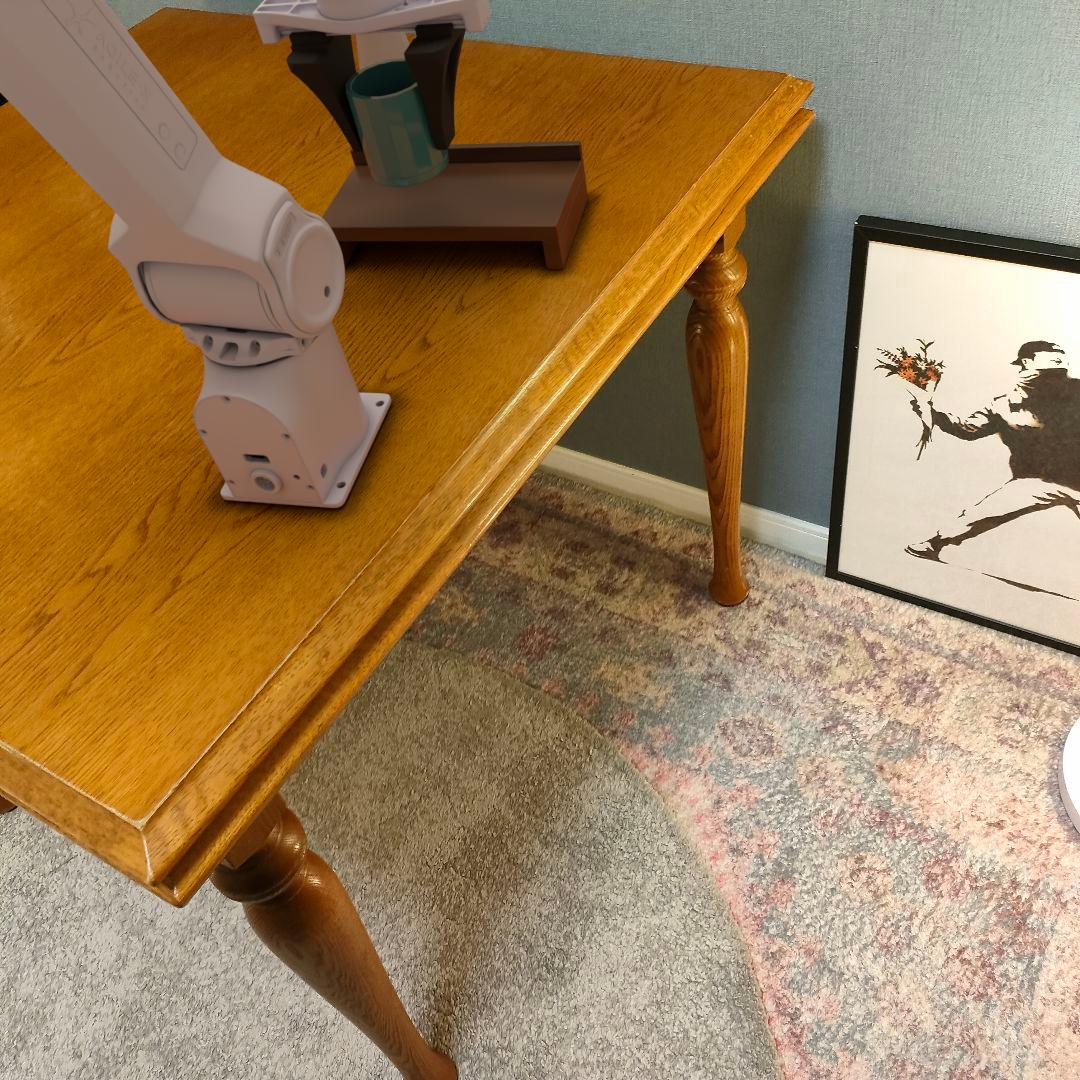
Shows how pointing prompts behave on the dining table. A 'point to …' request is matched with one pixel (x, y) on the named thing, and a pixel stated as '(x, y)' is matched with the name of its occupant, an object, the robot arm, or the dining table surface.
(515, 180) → the shelf
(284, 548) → the dining table surface
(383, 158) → the cup
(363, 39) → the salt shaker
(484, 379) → the dining table surface
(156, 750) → the dining table surface
